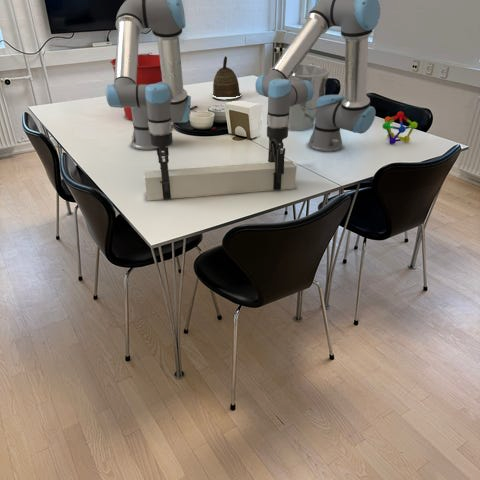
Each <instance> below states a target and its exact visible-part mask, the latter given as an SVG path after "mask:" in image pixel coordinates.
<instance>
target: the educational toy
mask: <svg viewBox="0 0 480 480" xmlns="http://www.w3.org/2000/svg"><path fill="white" fill-rule="evenodd" d="M397 119H399V124H400V125H399V127H398V126H393V125H391V124H392V123H394V122H395V121H396V120H397ZM403 120H404V121H405V122H407V123H408V124H409V125H407V126H404V123H403ZM417 127H418V122H417V121H411V120H410V119H409V118H408V117H406V116H405V113H404V112H403V111H401V110H400V111H398V112H397V114H396V115H394V116H391V117H390V116H386V117H385V118H384V122H383V123H382V129H383V130H386V132H387V138H388V142H389V145H395V144H396V143H397V142H402V141H403V142H404V143H409V142H410V140H411V138H410V136H411V134H412V132H413V131H414V130H415V129H417ZM392 129H393V130H397V131H398V132H396V134H395V133H394V132H392ZM408 129H409V131H408V133H407V134H406V135H404V136H401V134H403V133H405V132H406V130H408ZM399 135H400V136H399Z"/></svg>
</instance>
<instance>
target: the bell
mask: <svg viewBox="0 0 480 480" xmlns="http://www.w3.org/2000/svg"><path fill="white" fill-rule="evenodd" d="M227 63H228V57H227V56H224V58H223V63H222V67H221V68H219V69H218V70H217V71H216V73H215V75H214V78H213V81H212V83H213V84H212V95H214V96H216V97H236V96H240V95H241V96H242V93H241V92H240V83H239V80H238V79H239V78H238V77H237V75H236V73H235V72H234V70H232V69H231V68H230V67H227Z"/></svg>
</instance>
